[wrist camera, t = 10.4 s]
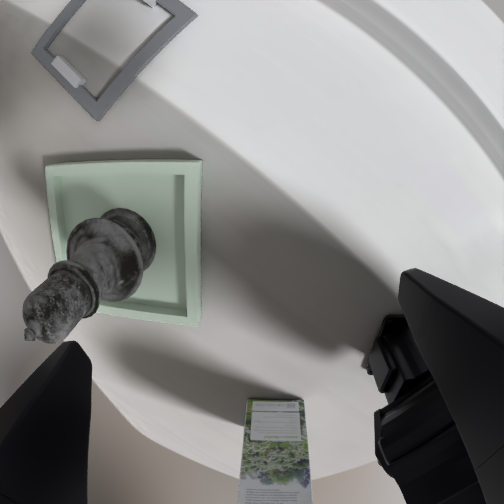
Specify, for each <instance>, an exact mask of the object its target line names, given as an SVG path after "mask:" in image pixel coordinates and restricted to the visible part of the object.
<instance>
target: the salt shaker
mask: <svg viewBox="0 0 504 504" xmlns="http://www.w3.org/2000/svg"><path fill="white" fill-rule="evenodd" d="M66 254H67V260H63V261H59V262H57V263H55V264H54V265H53V266H52V267H51V268H50V270H49V273H48V279H46V280H45V281H44V282H43V283H42V284H41V285H39V286H38V287H37V288H36V289H35V290H34V291H32V292H31V293H30V294H29V295H28V297H27V298H26V299H25V301H24V304H23V319H24V322H25V324H26V326H27V327H28V328H26V329H25V334H24V336H25V340H26V341H27V340H28V341H34V340H35V339H36V338H37V339H39V340H41V341H42V342H45V343H50V344H56V343H59V342H61V341H62V340H64V339H65V338H66V337H67V336H68V335H69V333H70V332H71V331H72V330H73V328H74V327H75V326H76V325H77V323H78V322H79V321H80V320H81V319H82V318H88V317H91V316H92V315H93V314H95V313H96V311H97V309H98V307H99V303H100V300H104V301H109V302H117V301H122V300H125V299H128V298H129V297H130V296H132V295H133V294H134V293H135V292H136V291H137V289H138V288H139V286H140V284H141V281H142V277H143V272H144V271H145V270H146V269H147V268H149V266H150V265H151V263H152V262H153V260H154V257H155V254H156V240H155V236H154V233H153V231H152V229H151V227H150V225H149V224H148V223H147V221H146V220H145V219H144V218H143V217H142V216H140V215H139V214H138V213H136V212H134V211H132V210H129V209H125V208H116V209H111V210H109V211H107V212H105V213H104V214H103V215H102V216H101V217H100V218H91V219H86V220H84V221H82V222H81V223H79V224H77V225H76V227H75V228H74V229H73V230H72V231H71V233H70V236H69V238H68V240H67V248H66ZM35 337H36V338H35Z"/></svg>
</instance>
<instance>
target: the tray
mask: <svg viewBox="0 0 504 504" xmlns="http://www.w3.org/2000/svg"><path fill="white" fill-rule="evenodd" d="M45 175H46V188H47V199H48V209H49V217H50V225H51V232H52V238H53V245H54V251H55V256H56V262H59V261H63V260H67V254H66V248H67V240H68V238H69V236H70V233H71V231H72V230H73V229H74V228H75V227H76V225H77V224H79V223H81V222H82V221H84V220H86V219H91V218H100V217H101V216H102V215H103V214H104V213H105V212H107V211H109V210H111V209H116V208H125V209H129V210H132V211H134V212H136V213H138V214H139V215H140V216H142V217H143V218H144V219H145V220H146V221H147V223H148V224H149V225H150V227H151V229H152V231H153V233H154V236H155V240H156V254H155V257H154V260H153V262H152V263H151V265H150V266H149V268H147V269H146V270H145V271H144V272H143V277H142V281H141V284H140V286H139V288H138V289H137V291H136V292H135V293H134V294H133V295H132V296H130V297H129V298H128V299H125V300H122V301H117V302H109V301H104V300H100V303H99V307H98V309H97V311H96V312H97V313H102V314H108V315H114V316H121V317H127V318H134V319H140V320H147V321H155V322H162V323H170V324H178V325H186V326H195V327H198V326H199V323H200V320H201V317H202V301H201V192H202V160H178V159H139V160H103V161H82V162H67V163H55V164H52V165H48V166H45Z"/></svg>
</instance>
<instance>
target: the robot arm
mask: <svg viewBox="0 0 504 504" xmlns="http://www.w3.org/2000/svg"><path fill="white" fill-rule="evenodd" d="M398 300H399V304H400V306H401V308H402V311H403V313H404V315H388V316H386V317H385V318H384V320H383V324H382V327H381V330H380V333H379V336H378V337H377V339H376V340H375V343H374V345H373V348H372V351H371V354H370V357H369V359H368V361H369V364H368V366H367V373H368V374H369V375H374V378H375V381H376V384H377V387H378V390H379V392H380V393H385V396H386V399H387V402H388V405H387V406H385V407H384V408H382V409H379V410H377V411H376V412H374V429H375V455H376V457H377V459H378V463H379V465H380V466H382V467H383V469H384V470H385V471H386V473H387V474H388V475H389V476H391V477H393V478H394V479H395V480H396V482H397V484H398V485H399V487H400V489H401V491H402V494H403V496H404V499H405V501H406V503H407V504H504V308H503V307H501V306H499V305H497V304H495V303H493V302H490V301H488V300H486V299H484V298H482V297H480V296H478V295H475V294H473V293H471V292H469V291H467V290H465V289H462V288H460V287H458V286H456V285H453V284H451V283H449V282H447V281H444V280H442V279H440V278H438V277H435V276H433V275H431V274H428V273H426V272H424V271H422V270H419V269H417V268H413V269H409V270H406V271H403V272H402V273H401V277H400V285H399V293H398ZM389 320H391V321H390V322H388V321H389ZM91 385H92V363H91V360H90V358H89V357H88V356H87V354H86V353H85V352H84V350H83V349H82V347H81V346H80V345H79V343H78V342H76V341H66V342H63V343H62V344H61V345H60V346H59V347H58V348H57V349H56V350H55V351H54V352H53V353H52V354H51V355H50V356H49V357H48V358H47V359H46V360H45V361H44V362H43V363H42V364H41V365H40V366H39V367H38V368H37V369H36V370H35V371H34V372H33V374H32V375H31V376H30V377H29V378H28V379H27V380H26V381H25V382H24V383H23V384H22V385H21V386H20V387H19V388H18V389H17V390H16V392H15V393H14V394H13V395H12V396H11V397H10V398H9V399H8V400H7V401H6V402H5V404H4V405H3V406H2V407H1V408H0V504H87V475H88V472H87V471H88V448H89V433H90V420H91Z"/></svg>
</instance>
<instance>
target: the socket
mask: <svg viewBox="0 0 504 504" xmlns="http://www.w3.org/2000/svg"><path fill="white" fill-rule="evenodd" d="M85 1H86V0H71V1H70V3H69V4H68V5H67V6H66V7H65V8H64V10H63V11H62V12H61V13H60V14H59V16H58V17H57V18H56V19H55V21H54V22H53V23H52V25H51V26H50V27H49V29H48V30H47V31H46V33H45V34H44V35H43V37H42V38H41V39H40V41H39V42H38V44H37V45H36V47H35V48H34V49H33V51H32V52H31V54H32V55H33V56H34V57H35V58H36V59H37V60H38V61H39V62H40V63H41V64H42V65H43V66H44V67H45V68H46V70H47V71H48V72H49V73H50V74H51V75H52V76H53V77H54V78H55V79H56V80H57V81H58V82H59V83H60V84H61V85H62V86H63V87H64V88H65V89H66V90H67V91H68V93H69V94H70V95H71V96H72V97H73V98H74V99H75V100H76V101H77V102H78V103H79V104H80V105H81V106H82V107H83V108H84V109H85V110H86V111H87V112H88V113H89V114H90V115H91V116H92V117H93V118H94V119H95V120H96V121H100V120H101V119H102V117H103V116H104V115H105V113H106V112H107V111H108V110H109V108H110V107H111V106H112V105H113V103H114V102H115V101H116V100H117V98H118V97H119V96H120V95H121V94H122V92H123V91H124V90H125V89H126V88H127V87H128V85H129V84H130V83H131V82H132V81H133V80H134V79H135V77H136V76H137V75H138V74H139V73H140V72H141V71H142V70H143V69H144V68H145V67H146V65H147V64H148V63H149V62H150V61H151V60H152V59H153V58H154V57H155V56H156V55H157V54H158V53H159V52H160V51H161V50H162V49H163V48H164V47H165V46H166V45H167V44H168V43H169V42H170V41H171V40H172V39H173V38H174V37H175V36H176V35H178V34H179V33H180V32H181V31H182V30H183V29H184V28H185V27H186V26H187V25H188V24H190V23H191V22H192V21H193V20H194V19H195V18H196V17H198V15H197V14H196V13H195V12H194V11H192V10H191V9H190V8H188V7H187V6H186V5H184V4H183V3H182V2H180V1H179V0H143V1H144V2H145V3H147V4H148V5H149V6H151V7H152V8H153V7H154V6H155V5H156V4H157V3H158V4H160V5H161V6H162V7H164V8H165V9H166V10H168V11H169V12H170V13H172V14H173V15H174V16H175V17H174V18H173V19H172V20H170V21H169V22H168V23H167V24H166V25H165V26H164V27H163V28H162V29H161V30H160V31H159V32H158V33H157V34H156V35H155V36H154V37H153V38H152V39H151V40H150V41H149V42H148V43H147V44H146V45H145V46H144V47H143V48H142V49H141V50H140V51H139V52H138V53H137V54H136V55H135V57H134V58H133V59H132V60H131V61H130V62H129V63H128V64H127V65H126V66H125V68H124V69H123V70H122V71H121V72H120V73H119V75H118V76H117V77H116V78H115V79H114V80H113V82H112V83H111V84H110V85H109V86H108V88H107V89H106V90H105V91H104V93H103V94H102V95H101V96H100V98H99V99H98V100H97V99H96V98H95V97H94V96H93V95H92V94H91V93H90V92H89V91H88V90H87V89H86V88H85V87H84V86H83V85H84V83H85V82H86V81H87V80H86V79H85V78H84V77H83V76H82V75H81V74H80V73H79V72H78V71H77V70H76V69H75V68H74V67H73V66H72V65H71V64H70V63H69V62H68V61H67V60H66V59H65V58H64V57H63V56H58V55H57V56H56V57H54V56H53V55H52V54H51V53H50V52H49V51H48V50H47V48H48V47H49V45H50V44H51V42H52V41H53V40H54V38H55V37H56V36H57V34H58V33H59V32H60V31H61V29H62V28H63V27H64V26H65V24H66V23H67V22H68V21H69V19H70V18H71V17H72V16H73V15H74V13H75V12H76V11H77V10H78V9H79V8H80V7H81V5H82V4H83V3H84V2H85Z"/></svg>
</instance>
